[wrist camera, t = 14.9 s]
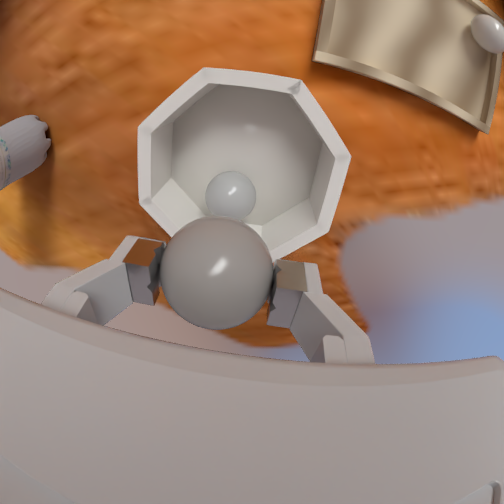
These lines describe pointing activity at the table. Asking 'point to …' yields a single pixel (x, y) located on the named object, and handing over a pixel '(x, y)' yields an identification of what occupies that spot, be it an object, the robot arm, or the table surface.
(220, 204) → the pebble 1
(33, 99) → the table surface
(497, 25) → the white ball
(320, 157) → the ceramic bowl
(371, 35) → the oak tray
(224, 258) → the grey ball
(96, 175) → the table surface
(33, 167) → the bottle
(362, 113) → the table surface
